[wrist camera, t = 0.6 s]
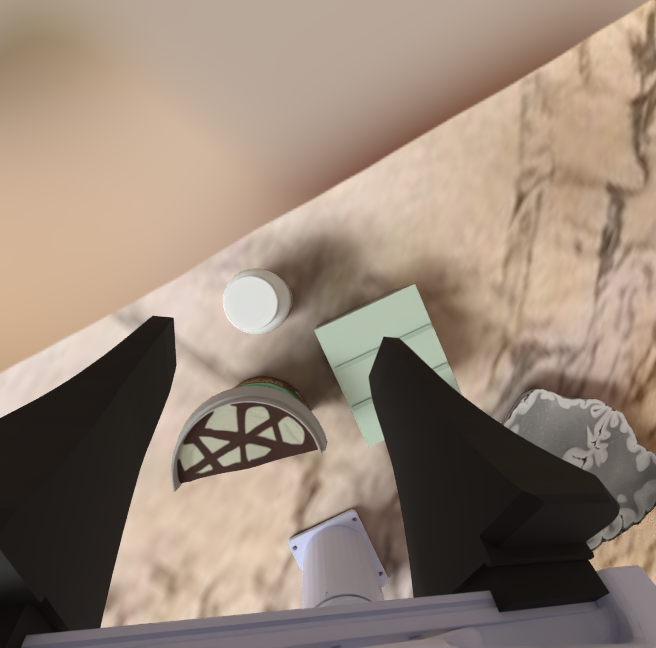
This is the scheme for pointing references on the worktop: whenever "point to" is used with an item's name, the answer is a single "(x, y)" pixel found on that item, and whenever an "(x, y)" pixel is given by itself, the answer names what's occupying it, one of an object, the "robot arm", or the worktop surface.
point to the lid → (363, 344)
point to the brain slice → (591, 450)
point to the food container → (245, 430)
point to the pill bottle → (257, 301)
